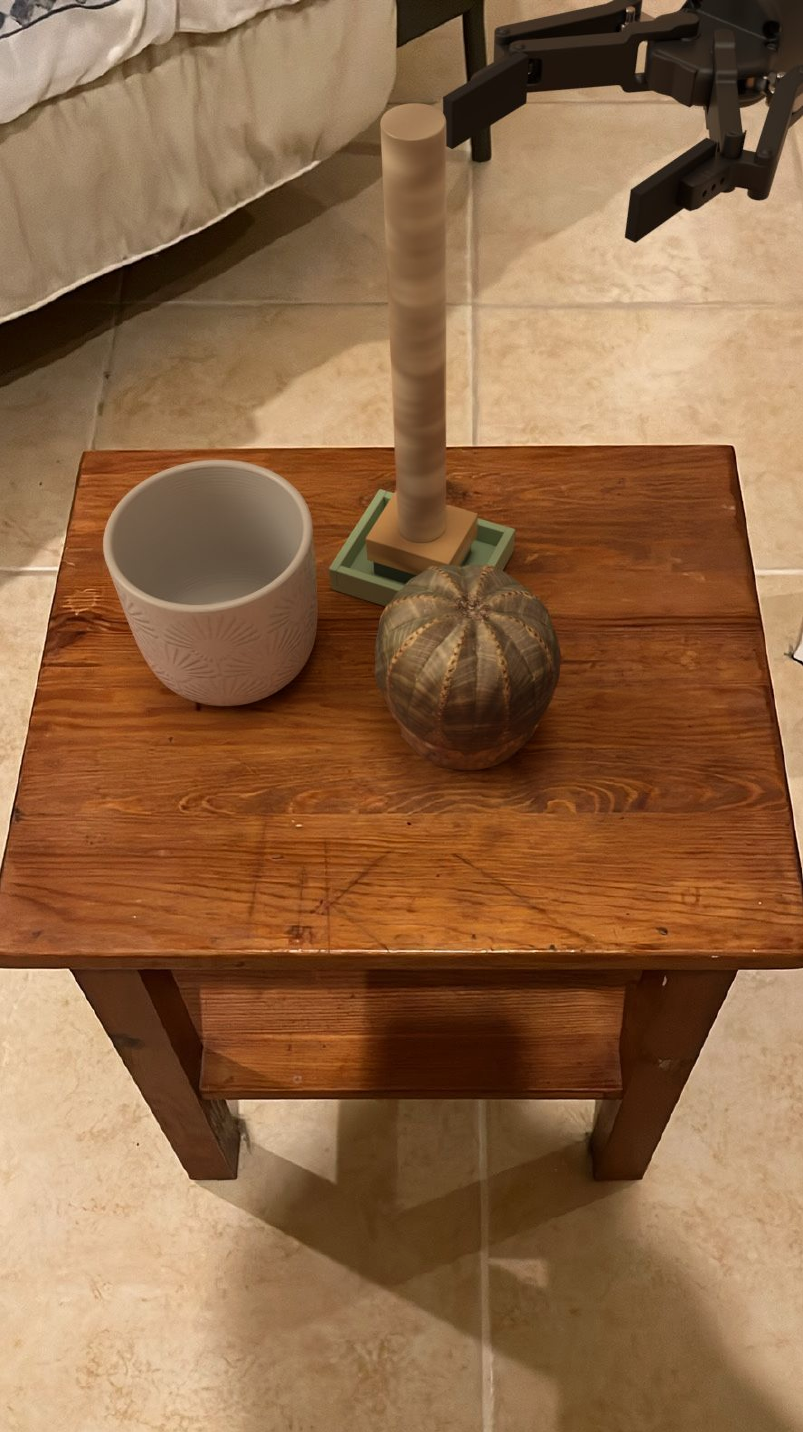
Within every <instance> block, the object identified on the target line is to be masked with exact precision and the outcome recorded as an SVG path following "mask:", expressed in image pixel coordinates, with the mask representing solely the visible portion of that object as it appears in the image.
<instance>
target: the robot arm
mask: <svg viewBox="0 0 803 1432" xmlns="http://www.w3.org/2000/svg"><path fill="white" fill-rule="evenodd" d="M643 1H644V0H611V1H609V2H607V3H603V4H598V5H597V4H596V5H593V6H588V7H584V8H583V7H582V8H579V9H575V10H570V11H565V12H561V13H560V12H559V13H556V14H551V15H547V16H542V17H538V18H533V19H527V20H524V21H523V20H522V21H519V22H513V23H509V24H505V25H501V26H498V27H496V28H494V30H493V31H494V32H493V33H494V34H493V62H491V63H489V64H487V65H486V66H485V67H483V68H481V69H479V70H477V71H476V72H474V73H473V74H472V76H471V77H470V80H468V81H467V82H465V83H464V84H462V85H460V86H458V87H457V88H455V89H454V90H451V92H448V93H447V94H445V95H444V96H443V97H442V113H443V114H444V116H445V118H446V148H449V149H451V150H454V149H456V148H457V147H459V146H460V145H462V144H463V143H465V142H467V141H468V140H470V139H471V138H473V137H474V136H476V135H478V134H479V133H481V132H484V130H486V129H487V128H489V127H491V126H493V125H494V124H496V123H497V122H499V121H500V120H503V119H504V118H505V117H507V116H508V115H510V114H512V113H513V112H515V111H517V110H518V109H520V108H521V107H522V106H524V105H526V104H527V101H528V100H527V99H528V94H530V93H540V92H541V93H542V92H553V91H567V90H577V89H590V88H592V89H593V88H602V87H615V86H618V87H621V89H622V91H623V92H624V93H627V94H631V93H643V92H644V93H645V92H654V93H656V94H659V95H663V96H666V97H670V98H672V99H673V100H674V101H676V102H678V103H679V104H681V105H682V106H685V107H687V108H691V107H693V106H695V107H702V109H703V111H704V120H705V130H708V137H705V138H703V139H702V140H700V141H699V142H698V143H696V144H695V145H693V146H692V147H690V148H689V149H687V150H685V152H683V153H682V154H680V155H679V156H677V157H676V158H673V160H671V161H670V162H668V163H667V164H665V165H664V166H662V167H661V168H660V169H658V170H657V171H656V172H654V173H653V174H651V175H650V176H648V177H647V178H645V179H643V180H642V181H641V182H639V183H638V184H637V185H635V186H634V187H632V188H631V189H630V191H629V192H630V193H629V199H628V207H627V215H626V223H625V231H624V238H625V239H626V240H629V241H630V242H632V243H634V244H636V243H638V242H639V241H641V240H642V239H643V238H645V237H647V236H648V235H649V234H650V233H652V232H653V231H654V230H656V229H658V228H659V227H660V226H661V225H663V224H665V223H666V222H667V221H669V220H670V219H671V218H673V217H674V216H676V215H677V214H678V213H680V212H681V211H682V210H686V211H688V212H693V211H695V210H699V209H700V208H701V207H703V206H705V204H706V205H707V203H709V202H710V201H712V200H713V199H714V198H716V197H717V196H718V195H720V194H721V193H722V194H728V193H732V192H734V191H735V190H736V188H738V189H743V190H747V191H746V193H747V194H746V196H747V197H748V198H749V199H751V200H754V201H758V202H759V201H764V200H767V199H768V198H769V196H770V193H771V189H772V187H773V183H774V180H775V177H776V172H777V169H778V167H779V163H780V159H781V156H782V153H783V149H784V146H785V142H786V139H787V135H788V132H789V129H790V128H792V127H793V126H794V125H795V124H796V123H797V122H798V121H799V120H800V119H802V117H803V0H686V1H685V2H684V3H683V4H682V6H680V8H679V9H678V10H676V11H673V12H669V13H664V14H660V15H658V16H656V17H654V16H652V15H650V14H648V13H647V12H644V11H642V8H643ZM643 42H644V43H646V47H645V58H644V67H643V68H644V70H643V71H642V72H637V64H638V63H637V62H638V54H639V47H640V45H641V44H642V43H643ZM764 99H765V101H764V103H765V105H766V107H767V108H768V110H767V114H766V117H765V120H764V123H763V126H762V128H761V131H760V132H761V133H760V136H759V139H758V142H757V145H756V149H755V151H753V150H749V149H744V147H745V142H746V137H747V133H748V132H747V131H748V130H747V129H745V130H744V131H743V123H742V116H741V115H742V114H741V109H744V108H749V107H751V106H754V105H756V104H758V103H759V102H762V100H764Z"/></svg>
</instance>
